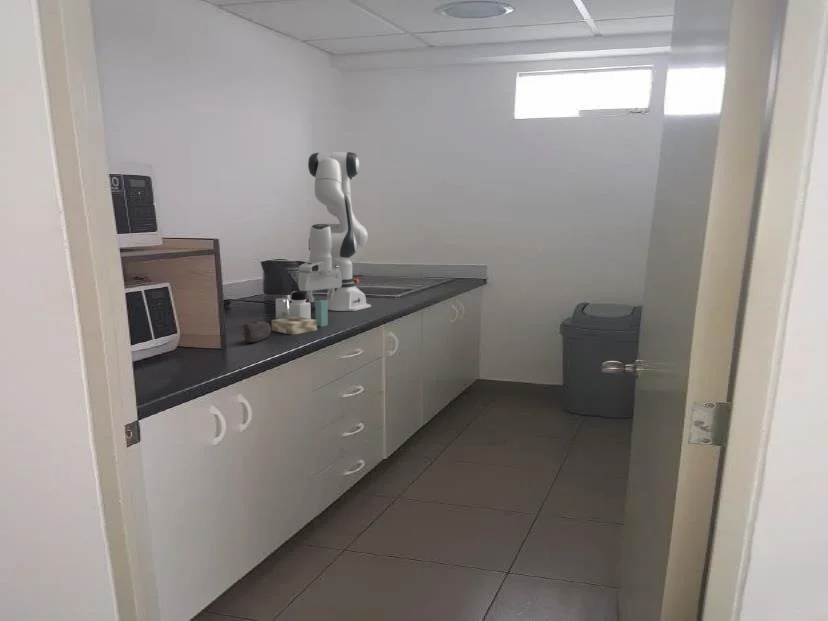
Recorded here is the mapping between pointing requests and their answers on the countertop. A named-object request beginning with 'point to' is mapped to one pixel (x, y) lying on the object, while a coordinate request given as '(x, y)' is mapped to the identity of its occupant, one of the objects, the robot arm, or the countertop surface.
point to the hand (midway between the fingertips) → (320, 300)
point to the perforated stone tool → (256, 331)
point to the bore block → (294, 325)
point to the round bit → (282, 308)
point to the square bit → (321, 312)
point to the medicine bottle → (299, 305)
